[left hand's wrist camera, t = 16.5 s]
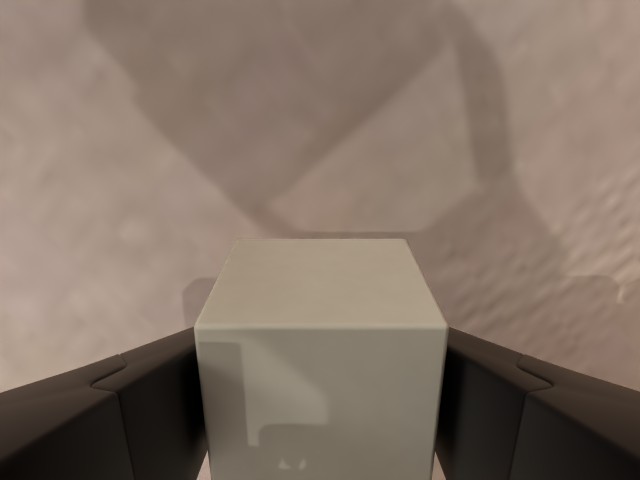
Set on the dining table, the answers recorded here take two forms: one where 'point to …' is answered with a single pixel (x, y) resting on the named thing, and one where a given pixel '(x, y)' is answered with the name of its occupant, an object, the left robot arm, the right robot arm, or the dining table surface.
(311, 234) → the dining table surface
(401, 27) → the dining table surface
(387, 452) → the block
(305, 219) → the dining table surface
